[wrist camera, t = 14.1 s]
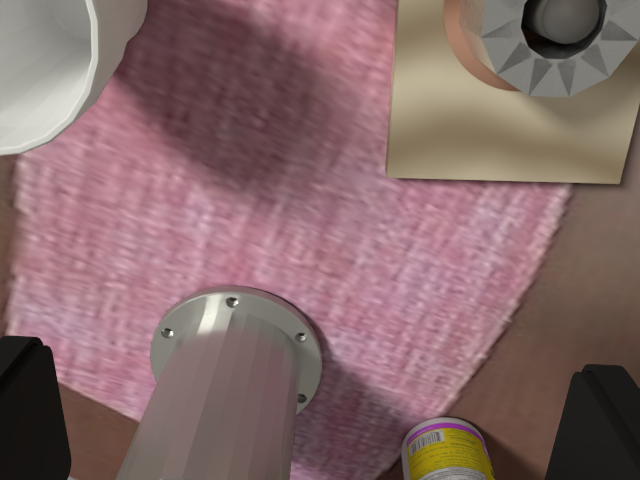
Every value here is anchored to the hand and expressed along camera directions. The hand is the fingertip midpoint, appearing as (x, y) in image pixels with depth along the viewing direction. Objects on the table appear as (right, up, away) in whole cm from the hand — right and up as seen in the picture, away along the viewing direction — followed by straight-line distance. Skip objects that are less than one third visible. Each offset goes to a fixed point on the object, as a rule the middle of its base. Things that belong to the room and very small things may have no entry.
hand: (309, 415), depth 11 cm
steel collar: (+11, +16, +21) cm, 28 cm away
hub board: (+11, +15, +23) cm, 30 cm away
